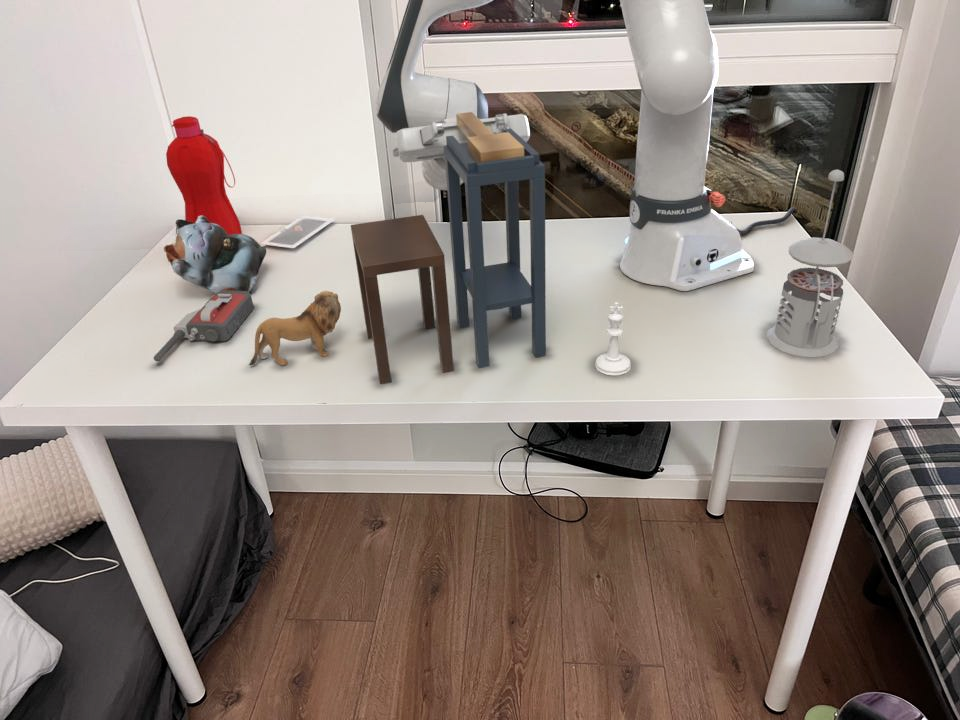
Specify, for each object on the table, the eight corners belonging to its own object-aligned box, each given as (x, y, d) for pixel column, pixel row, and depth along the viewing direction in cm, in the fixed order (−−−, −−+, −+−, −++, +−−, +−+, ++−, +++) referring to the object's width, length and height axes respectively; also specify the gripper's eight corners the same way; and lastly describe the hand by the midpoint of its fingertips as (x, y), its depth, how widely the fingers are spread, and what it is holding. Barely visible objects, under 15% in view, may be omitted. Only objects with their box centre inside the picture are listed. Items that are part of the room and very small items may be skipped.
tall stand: (518, 313, 120) (513, 127, 104) (545, 356, 109) (545, 155, 93) (457, 323, 118) (443, 136, 102) (478, 368, 107) (466, 166, 91)
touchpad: (336, 224, 155) (334, 214, 154) (294, 253, 144) (292, 243, 143) (304, 220, 158) (302, 210, 157) (260, 248, 146) (258, 238, 145)
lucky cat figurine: (247, 303, 127) (187, 244, 119) (199, 320, 133) (138, 264, 124) (278, 244, 136) (224, 186, 128) (232, 262, 142) (177, 207, 134)
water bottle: (243, 256, 144) (211, 123, 131) (186, 258, 144) (149, 126, 131) (256, 236, 152) (227, 109, 138) (202, 238, 152) (168, 112, 139)
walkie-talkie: (210, 303, 128) (151, 367, 111) (204, 279, 126) (142, 341, 109) (259, 304, 127) (207, 369, 110) (254, 280, 124) (199, 343, 108)
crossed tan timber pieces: (483, 123, 111) (482, 107, 110) (524, 164, 94) (524, 146, 93) (446, 127, 110) (445, 112, 109) (481, 169, 93) (480, 152, 92)
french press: (831, 323, 112) (869, 158, 99) (849, 366, 103) (894, 189, 89) (762, 320, 114) (790, 157, 100) (773, 362, 104) (806, 188, 91)
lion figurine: (341, 334, 117) (332, 282, 112) (352, 350, 113) (343, 296, 108) (246, 360, 112) (232, 307, 107) (253, 377, 108) (239, 323, 103)
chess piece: (630, 377, 103) (634, 312, 98) (593, 374, 104) (596, 310, 99) (631, 357, 107) (635, 295, 102) (596, 355, 108) (598, 293, 103)
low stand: (433, 322, 119) (423, 214, 109) (453, 371, 107) (444, 254, 97) (367, 334, 117) (350, 224, 107) (380, 384, 105) (362, 266, 95)
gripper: (387, 136, 118) (394, 109, 105) (512, 121, 122) (534, 93, 109) (394, 176, 119) (402, 154, 105) (519, 160, 123) (542, 136, 109)
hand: (470, 123), depth 107 cm, fingers open, 8 cm apart
